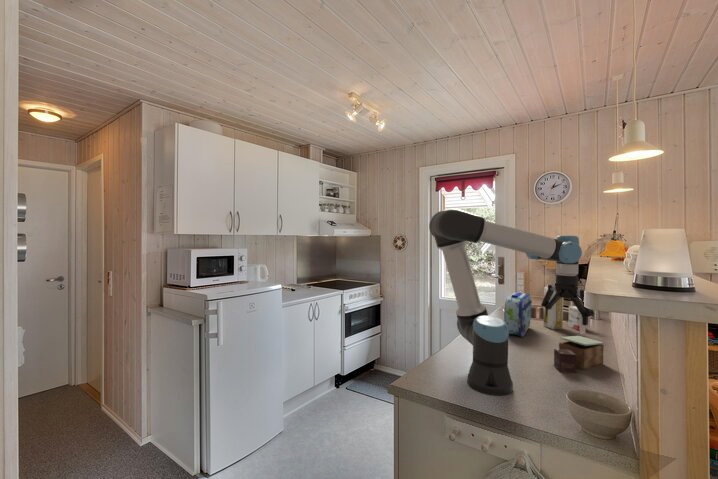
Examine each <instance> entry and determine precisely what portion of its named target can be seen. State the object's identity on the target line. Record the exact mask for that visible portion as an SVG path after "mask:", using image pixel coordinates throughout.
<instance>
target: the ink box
mask: <svg viewBox="0 0 718 479" xmlns="http://www.w3.org/2000/svg"><path fill="white" fill-rule="evenodd" d="M580 316H582V315H581V313H580V312H579V310H578V309H577V307H576V306H574V305H573V306H571V305H569V306H568V321H567V322H568V325H567V326H568V327H569V328H572V329H574V330H577V331H579V324H580ZM586 329H587V328H586ZM586 329H585V331H586Z"/></svg>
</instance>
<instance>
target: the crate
mask: <svg viewBox="0 0 718 479" xmlns="http://www.w3.org/2000/svg"><path fill="white" fill-rule="evenodd" d="M604 345H605V344H598V345H588V346H584V345H581V344H577V343H574V342H571V341H567V340H565V341H561V342H558V349H569V350H571V351H572V352H573V353H575V354H576V369H579V370H582V371H586V370H589V369H592V368H595V367H598V366H601V365H604Z"/></svg>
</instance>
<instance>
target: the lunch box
mask: <svg viewBox="0 0 718 479" xmlns="http://www.w3.org/2000/svg"><path fill="white" fill-rule="evenodd" d="M503 312H504V313H503V314H504V315H503V316H504V317H503V319H504V320H503V321H505V322H506V324H507V325H508V332H509V335H515V336H518V337H520V338H521V337H522V338H523V337H525V335H526V333H527V331H528V329H529V328H530V325H531V316H532V299H531V294H530V293H525V292H513V293H512V294H510V295H509V296H508V297H506V299H505V303H504V310H503Z"/></svg>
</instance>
